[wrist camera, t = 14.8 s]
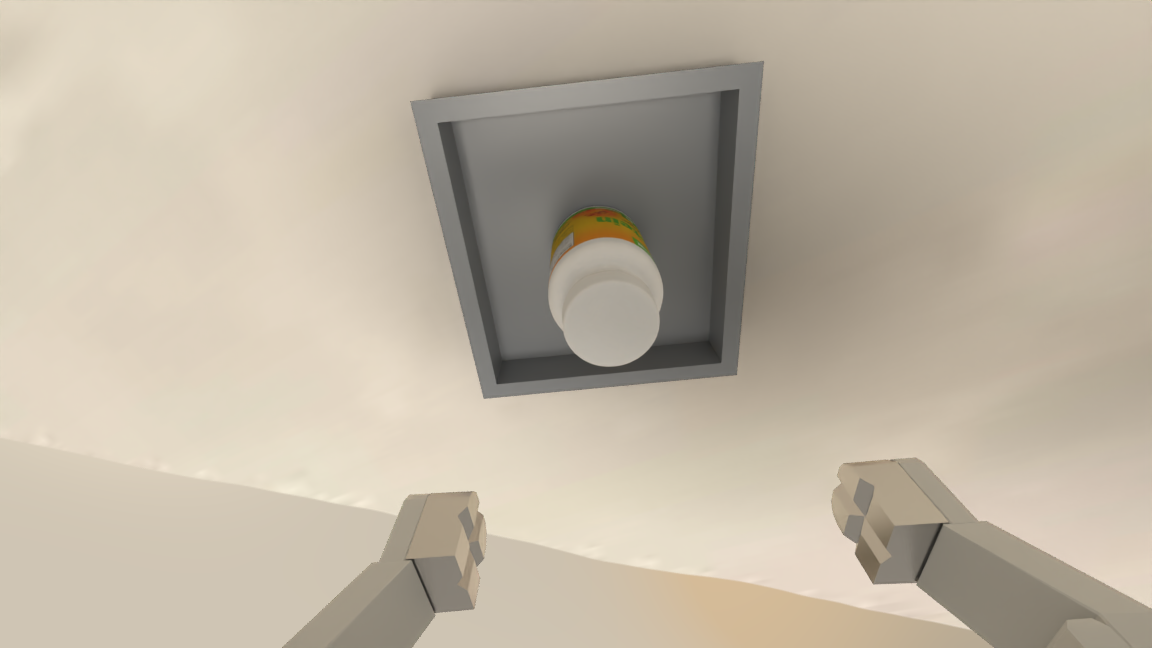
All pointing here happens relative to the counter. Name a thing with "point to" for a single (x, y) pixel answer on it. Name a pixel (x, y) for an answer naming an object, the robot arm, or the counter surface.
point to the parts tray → (597, 178)
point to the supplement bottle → (604, 287)
